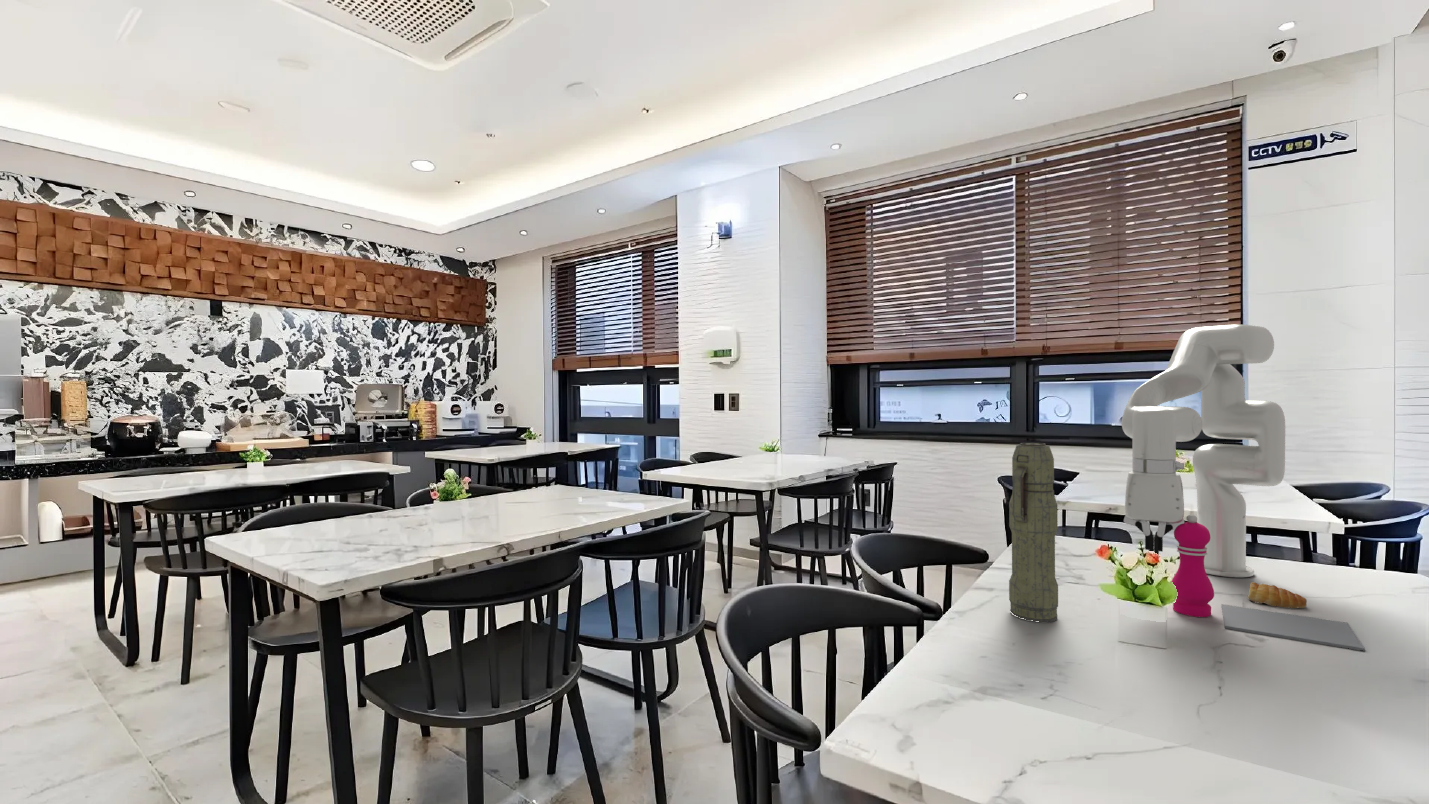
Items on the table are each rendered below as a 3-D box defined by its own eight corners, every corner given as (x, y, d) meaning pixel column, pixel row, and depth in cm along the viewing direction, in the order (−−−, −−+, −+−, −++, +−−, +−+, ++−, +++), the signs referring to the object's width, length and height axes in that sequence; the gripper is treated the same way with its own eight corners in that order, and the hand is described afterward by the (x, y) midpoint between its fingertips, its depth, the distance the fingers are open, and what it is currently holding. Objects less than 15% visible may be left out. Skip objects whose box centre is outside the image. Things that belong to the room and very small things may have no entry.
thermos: (998, 616, 130) (997, 444, 129) (1023, 603, 138) (1022, 440, 137) (1044, 628, 123) (1043, 446, 123) (1067, 613, 131) (1067, 442, 131)
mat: (1221, 606, 134) (1221, 604, 134) (1347, 625, 123) (1347, 622, 123) (1224, 628, 122) (1224, 625, 122) (1365, 651, 111) (1365, 648, 111)
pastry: (1306, 604, 135) (1306, 586, 135) (1306, 613, 130) (1306, 594, 130) (1248, 595, 142) (1248, 578, 142) (1246, 603, 137) (1246, 585, 137)
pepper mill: (1174, 603, 136) (1174, 510, 136) (1217, 611, 131) (1217, 514, 131) (1166, 612, 131) (1166, 515, 131) (1210, 621, 126) (1211, 519, 126)
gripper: (1198, 467, 133) (1198, 555, 133) (1113, 463, 142) (1114, 545, 142) (1198, 471, 127) (1198, 563, 127) (1110, 466, 136) (1110, 552, 136)
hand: (1153, 553), depth 135 cm, fingers closed
